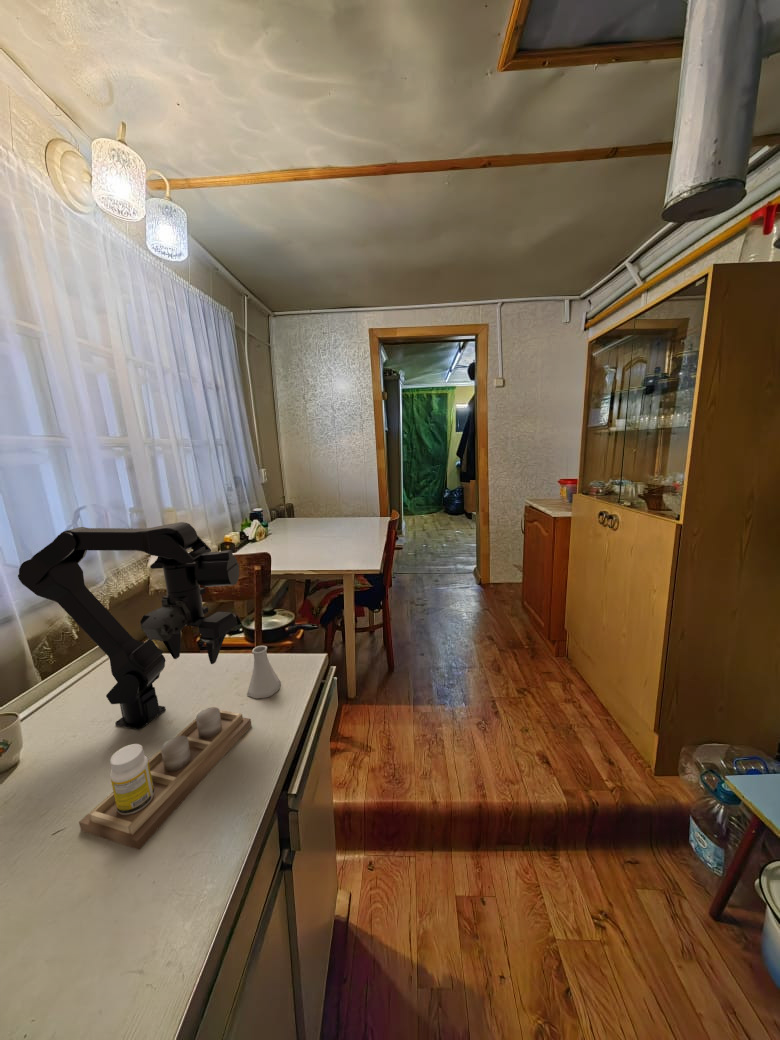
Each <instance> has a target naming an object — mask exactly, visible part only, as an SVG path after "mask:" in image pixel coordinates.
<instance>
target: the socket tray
mask: <svg viewBox="0 0 780 1040" xmlns="http://www.w3.org/2000/svg"><path fill="white" fill-rule="evenodd" d="M251 727H252V719H251V718H247V717H243V714H242V713H239V712H232V711H227V710H221V709H219V708H218V707H215V706H213V707H207V708H205V709H202V710H201V711H199V712H198V714H197V715H196V717H195V719H193V720H192V721H191V722H190V723H189V724H188V725H187V726H186V727H184V728H183V729H182V730H181V731H179V733H177V735H175V736H174V737H172V738H169V739H168V740H167V741H165V742H164V743H163V744H162V746H161V747H160V749H159V751H157V752H156V753H155V754H154V755H153V756H151V758H150V759H149V758H148V761H149V767H150V772H151V777H152V782H153V787H154V796H153V798H152V800H151V801H150V803H149V804H148V805H147V806H146V807H144V808H143V809H142V810H140V811H138V812H136V813H134V814H130V815H121V814H120V813H119V812H118V810H117V806H116V801H115V797H114V792H113V791H112V792H111V793H109V795H107V796H106V797H105V798H104V799H103V800H102V801H101V802H100V803H99V804H98V805H96V806H95V807H94V808H93V809H92V810H91V811H90V812H88V813H87V814H86V815H84V817H82V818H81V820H79V821H78V825H79V829H80V831H82V832H84V833H87V834H90V835H93V836H96V837H98V838H102V839H104V840H108V841H111V842H114V843H116V844H119V845H120V844H121V845H122V846H126V847H129V848H131V849H135V850H138V851H139V850H141V849H142V848H143V846H144V845H145V844H146V843H147V842H148V841H149V839H151V838H152V836H153V835H154V834H155V833H156V832H157V830H158V829H160V827H161V826H162V825H163V824H164V823H165V822H166V821H167V820H168V819H169V817H171V815H172V814H173V813H174V812H175V811H176V809H178V807H179V806H180V805H182V803H183V802H184V801H185V800H186V799H187V797H188V796H190V794H191V793H192V792H193V791H194V789H195V788H197V787H198V785H199V784H200V783H201V782H202V781H203V779H205V777H207V776H208V774H209V773H210V772H211V771H212V770H213V769H214V767H216V765H218V763H219V762H221V760H222V759H223V757H224V756H226V754H227V753H229V751H230V750H231V749H232V748H233V747H234V745H235V744H236V743H237V742H238V741H239V740H240V739H241V738H242V737H243V736H244V734H245V733H246V732H247V731H248V730H249V729H250V728H251Z"/></svg>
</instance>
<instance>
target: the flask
mask: <svg viewBox="0 0 780 1040" xmlns="http://www.w3.org/2000/svg"><path fill="white" fill-rule="evenodd" d="M267 650H268V646H266V645H257V646H256V647H254V648H253V649H252V651H251V654H252V655H253V659H254V660H253V669H252V674H251V678H250V680H249V681H250V682H249V685H248V689H247V693H246V696H248V697H251V698H252V699H253V698H254V699H263V698H270V697H271V696H273V695H274V694H276V693H277V692H278V691H279V690H280V687H281V683H282V681H281V680H280V677H278V675H277V673H276V672H275V670H274V668H273V666H272V664H271V662H270V659H269V658H268V653H267Z"/></svg>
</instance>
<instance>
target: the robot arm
mask: <svg viewBox="0 0 780 1040" xmlns="http://www.w3.org/2000/svg"><path fill="white" fill-rule="evenodd" d="M190 550H192V551H190ZM88 551H121V552H122V551H129V552H130V551H131V552H134V551H137V552H141V553H142V552H143V553H145V554H147V555H148V556H149V555H150V556H152V557H157V558H156V560H154V562H152V564H151V565H149V566H150V569H151V570H153V569H154V570H156V569H157V570H158V569H162V571H163V576H164V581H165V589H166V595H164V596H162V599H161V607H158V608H157V609H154V610H152V611H150V612H148V613H145V614H144V615H143V616H142V617H141V620H140V627H141V631H143V632H144V634H145V635H146V637H147V640H146V641H141V640H138V639H135V638H134V637H133V636H132V635H131V634H130V633H129V632H128V631H127V630H126V628H125V627H124V626H122V624H121V623H120V622H119V621H118V620H117V619H116V618H115V617H114V616H113V615H112V613H111V612H110V611H109V610H108V609H107V608H106V607H105V606H104V605H103V604H102V602H101V601H99V599H98V598H97V597H96V596H95V595H94V594H93V593H92V591H90V590H89V588H88V587H87V585H86V584H85V578H84V570H83V569H82V567H81V566H80V565H79V563H80V562H81V561H82V560H83V559H84V558H85V557H86V554H87V552H88ZM188 551H189V552H188ZM239 577H240V564H239V562H238V560H237V558H236V556H234V555H233V550H231V549H227V550H225V549H224V550H222V551H212V549H211V547H210V546H209V545H208V544H207V543H206V542H205V541H204V540H203V539H202V538H201V537H200V536H199V535H198V534H197V531H196V529H195V528H194V527H193V526H192V525H191V524H190V523H188V522H184V521H180V522H173V523H167V524H163V525H158V526H153V527H147V528H133V527H131V528H126V527H125V528H120V527H119V528H118V527H116V528H113V527H111V528H110V527H109V528H105V527H104V528H102V527H100V528H99V527H98V528H97V527H96V528H93V527H92V528H91V527H85V526H80V527H76V528H71V529H67V530H63V531H62V532H60V533H59V534H58V535H57V536H56V537H55V538H54V539H53V540H52V542H49V544H47V545H46V546H44V547H43V548H42V549H41V550H39V551H38V552H37V553H35V554H34V555H33V556H32V557H31V558H29V559H27V560H25V561H23V562H22V563H21V564H20V566H19V568H18V574H17V578H18V580H19V582H20V583H21V584H22V585H23V587H26V588H27V589H28V590H29V591H31V592H32V593H34V595H36V596H38V597H40V598H43V599H47V600H49V601H53V602H55V603H57V604H59V606H60V607H61V608H62V609H63V610H64V611H65V612H66V613H67V614H68V615H69V617H70V618H72V620H74V622H75V623H76V624H77V625H78V626H79V627H80V628H81V630H83V632H85V634H86V635H87V636H88V637H90V639H91V640H92V641H93V642H94V644H96V646H98V647H99V648H100V649H101V651H103V653H105V654H106V656H107V657H108V659H109V663H110V664H109V665H110V672H111V675H112V676H113V678H114V680H115V681H116V684H114V686H113V687H112V688H111V689H110V690H109V691H108V693H106V695H105V696H106V699H107V701H109V703H110V705H119V706H120V710H121V711H120V712H121V716H122V717H120V718H119V719H118V720H116V721H115V726H117V727H123V728H127V729H132V730H137V731H139V730H141V729H143V728H144V727H145V726H146V725H147V724H149V723H151V722H152V721H153V720H154V719H156V717H158V716H159V715H160V714H162V713H163V712H164V711H166V706H165V705H164V706H163V705H160V704H159V700H158V695H157V692H156V687H154V685H153V683H155V682H156V681H157V680H158V679H160V677H161V676H160V675H161V673H162V672H163V671H164V668H165V666H166V658H165V656H164V655H163V654H164V652H165V651H164V650H162V649H160V648H159V647H158V646H157V645H156V643H155V642H154V640H155V641H160V642H162V643H163V644H164V647H165V648H166V649H167V650H168V652H169V653H170V655H171V657H172V658H173V659H174V660H177V659H178V658H180V656H181V647H182V646H181V644H182V643H181V642H182V641H181V640H182V638H181V637H182V630H183V629H184V627H197V628H198V632H199V634H200V635H201V637H199V640H201V642H202V641H203V642H204V643H205V647H206V651H207V656H208V660H209V663H210V664H211V665H214V664H215V663H217V659H218V657H219V655H220V654H219V653H220V651H221V648H222V645H223V643H224V640H225V638H226V636H227V634H228V632H229V631H231V630H232V629H234V628H235V627H237V626H238V621H237V620H238V619H237V615H236V614H235V613H233V612H226V611H217V612H214V613H213V614H210V616H208V617H206V616H204V615H205V614H207V613H209V607H208V606H204V605H203V597H202V595H204V594H206V588H208V587H211V588H212V587H225V586H235V585H237V583H238V581H239ZM201 586H202V587H201Z"/></svg>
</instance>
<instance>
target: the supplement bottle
mask: <svg viewBox="0 0 780 1040" xmlns="http://www.w3.org/2000/svg"><path fill="white" fill-rule="evenodd" d="M148 760H149V758H148V756H146V755H145V752H144V748H143V745H141V744H139V743H133V744H128V745H125V746H123V747H121V748H120V749H118V750H117V751H115V752H114V753H113V754H112V756H111V757H110V762H109V763H110V769H111V771H110V775H109V779H110V783H111V787H112V788H111V789H112V792H114V797H115V801H116V806H117V810H118V812H119V813H120V814H121V815H130V814H134V813H136V812H138V811H140V810H142V809H143V808H144V807H146V806H147V805H148V804H149V803H150V801H151V800H152V798H153V796H154V787H153V782H152V777H151V772H150V767H149V761H148Z"/></svg>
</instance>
